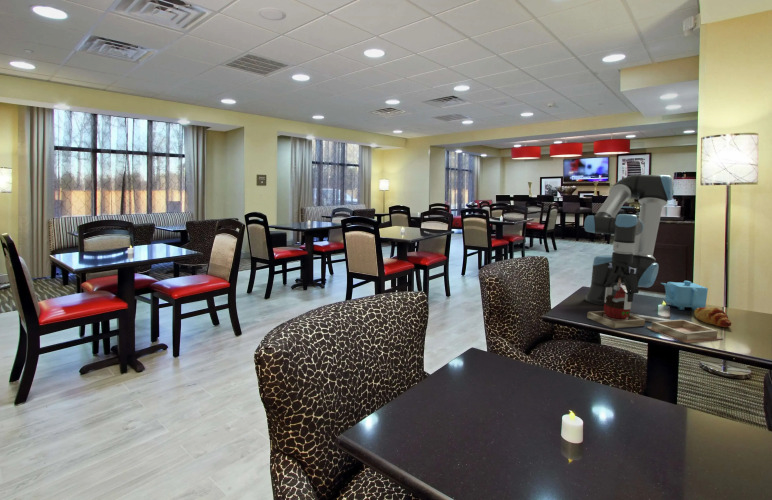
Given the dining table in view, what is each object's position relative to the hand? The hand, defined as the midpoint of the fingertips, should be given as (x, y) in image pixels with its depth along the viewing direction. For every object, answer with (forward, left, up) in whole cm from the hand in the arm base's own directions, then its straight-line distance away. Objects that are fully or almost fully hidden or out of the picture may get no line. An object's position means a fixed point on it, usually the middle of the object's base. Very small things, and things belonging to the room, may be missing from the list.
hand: (617, 305), depth 177 cm
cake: (0, 0, -6) cm, 6 cm away
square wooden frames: (+9, +7, -7) cm, 14 cm away
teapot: (-12, +49, -7) cm, 51 cm away
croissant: (+9, +42, -7) cm, 44 cm away
